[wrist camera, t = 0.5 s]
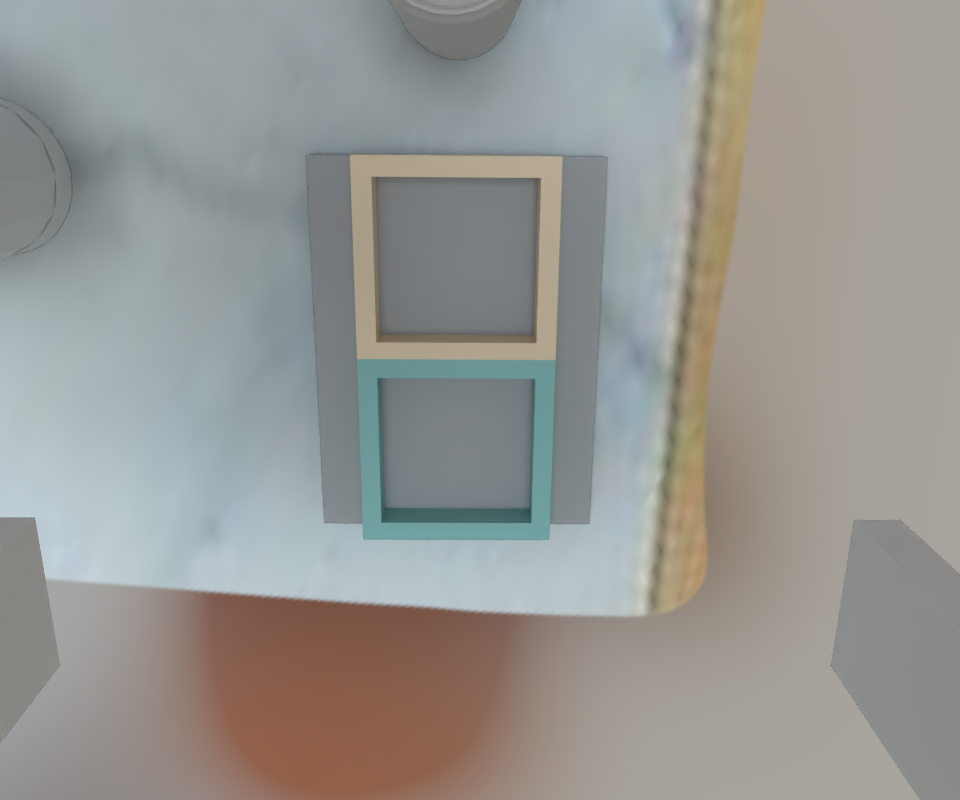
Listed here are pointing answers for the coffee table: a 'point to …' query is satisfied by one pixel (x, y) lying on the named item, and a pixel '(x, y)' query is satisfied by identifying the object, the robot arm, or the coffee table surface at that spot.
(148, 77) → the coffee table surface
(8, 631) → the robot arm
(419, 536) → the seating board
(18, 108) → the cup
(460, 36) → the beverage can
